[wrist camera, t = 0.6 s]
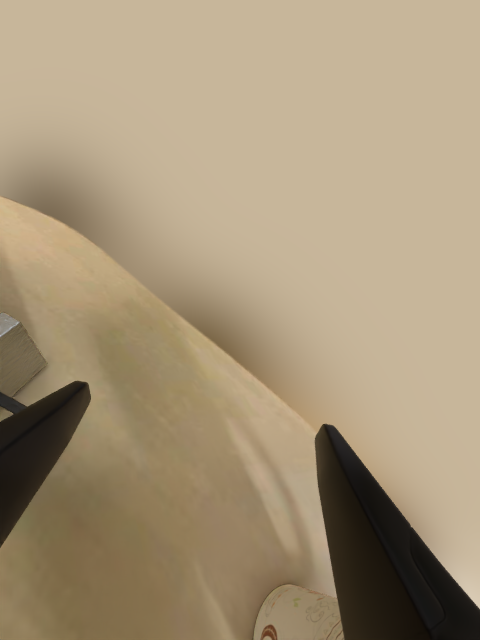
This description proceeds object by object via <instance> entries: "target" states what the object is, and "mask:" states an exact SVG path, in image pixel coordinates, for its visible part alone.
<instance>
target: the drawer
mask: <svg viewBox="0 0 480 640" xmlns="http://www.w3.org/2000/svg"><path fill="white" fill-rule="evenodd" d="M46 364H47V362H46V360H45V359H44V357H43V356H42V354H41V353H40V351H39V350H38V348H37V347H36V345H35V344H34V342H33V341H32V339H31V337H30V336H29V334H28V333H27V331H26V330H25V328H24V327H23V325H22V324H21V322H20V321H18V320H16V319H15V318H13V317H11V316H10V315H8V314H6V313H5V312H2V313H0V407H3V408H5V409H6V410H8V411H10V412H12V413H14V414H15V413H17V412H19V411H21V410H23V409H25V408H26V407H27V406H25V405H23V404H21V403H20V402H18V401H16V400H14V399H12V398H11V397H12V396H13V395H14V394H15V393H16V392H17V391H18V390H19V389H20V388H22V387H23V386H24V385H25V384H26V383H27V382H28V381H29V380H30V379H31V378H32V377H33V376H35V375H36V374H37V373H38V372H39V371H40V370H41V369H42V368H43V367H44V366H45V365H46Z"/></svg>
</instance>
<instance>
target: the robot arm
mask: <svg viewBox="0 0 480 640" xmlns="http://www.w3.org/2000/svg"><path fill="white" fill-rule="evenodd" d="M90 400H91V395H90V390H89V385H88V383H87V382H82V381H74V382H72V383H70V384H68V385H67V386H65V387H63V388H61V389H59V390H57V391H56V392H54V393H52V394H50V395H48V396H46V397H45V398H43V399H41V400H39V401H37V402H36V403H34V404H32V405H30V406H28V407H26V408H25V409H23V410H21V411H19V412H17V413H15V414H14V415H12V416H10V417H8V418H6V419H4V420H3V421H1V422H0V547H1V546H2V544H3V543H4V541H5V540H6V538H7V537H8V535H9V534H10V532H11V531H12V529H13V528H14V526H15V525H16V523H17V521H18V520H19V518H20V517H21V515H22V514H23V512H24V511H25V509H26V508H27V506H28V505H29V503H30V502H31V500H32V499H33V497H34V496H35V494H36V492H37V491H38V489H39V488H40V486H41V485H42V483H43V482H44V480H45V479H46V477H47V476H48V474H49V473H50V471H51V470H52V468H53V466H54V465H55V463H56V462H57V460H58V459H59V457H60V456H61V454H62V453H63V451H64V450H65V448H66V446H67V445H68V443H69V441H70V440H71V438H72V436H73V434H74V432H75V430H76V428H77V426H78V425H79V423H80V421H81V419H82V417H83V415H84V413H85V411H86V409H87V407H88V405H89V403H90ZM315 450H316V465H317V479H318V488H319V494H320V500H321V506H322V512H323V518H324V524H325V529H326V535H327V541H328V547H329V553H330V559H331V565H332V571H333V576H334V582H335V588H336V594H337V600H338V606H339V612H340V617H341V623H342V629H343V635H344V640H480V609H479V608H478V607H477V606H476V604H475V603H474V602H473V601H472V600H471V599H470V597H469V596H468V595H467V594H466V593H465V592H464V591H463V589H462V588H461V587H460V586H459V585H458V583H457V582H456V581H455V580H454V579H453V578H452V576H451V575H450V574H449V573H448V572H447V570H446V569H445V568H444V567H443V566H442V564H441V563H440V562H439V561H438V559H437V558H436V557H435V556H434V555H433V553H432V552H431V551H430V549H429V548H428V547H427V546H426V545H425V543H424V542H423V541H422V539H421V538H420V537H419V535H418V534H417V533H416V531H415V530H414V529H413V528H412V527H411V526H410V524H409V522H408V521H407V520H406V519H405V517H404V516H403V515H402V513H401V512H400V511H399V509H398V508H397V507H396V506H395V504H394V503H393V502H392V500H391V499H390V498H389V497H388V495H387V494H386V493H385V491H384V490H383V489H382V487H381V486H380V485H379V483H378V482H377V481H376V480H375V478H374V477H373V476H372V474H371V473H370V472H369V470H368V469H367V468H366V467H365V466H364V464H363V463H362V461H361V460H360V459H359V457H358V456H357V455H356V453H355V452H354V451H353V450H352V449H351V447H350V446H349V444H348V443H347V442H346V441H345V439H344V438H343V437H342V435H341V434H340V433H339V431H338V430H337V429H336V428H335V427H334V426H333V425H328V424H323V425H322V426H321V428H320V430H319V432H318V433H317V435H316V438H315Z"/></svg>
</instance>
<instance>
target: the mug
mask: <svg viewBox="0 0 480 640" xmlns="http://www.w3.org/2000/svg"><path fill="white" fill-rule="evenodd" d="M253 640H344V635H343V629H342V623H341V617H340V612H339V606H338V600H337V598H333V597H330V596H327V595H324V594H321V593H318V592H315V591H312V590H309V589H306V588H302V587H299V586H296V585H291V584H287V585H282V586H279V587H277V588H276V589H274V590H273V591H272V592H271V593H270V594H269V595H268V597H267V598H266V599H265V601H264V603H263V605H262V606H261V609H260V611H259V614H258V617H257V620H256V624H255V629H254V636H253Z"/></svg>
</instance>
